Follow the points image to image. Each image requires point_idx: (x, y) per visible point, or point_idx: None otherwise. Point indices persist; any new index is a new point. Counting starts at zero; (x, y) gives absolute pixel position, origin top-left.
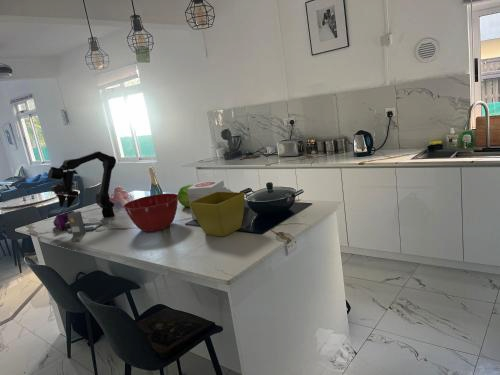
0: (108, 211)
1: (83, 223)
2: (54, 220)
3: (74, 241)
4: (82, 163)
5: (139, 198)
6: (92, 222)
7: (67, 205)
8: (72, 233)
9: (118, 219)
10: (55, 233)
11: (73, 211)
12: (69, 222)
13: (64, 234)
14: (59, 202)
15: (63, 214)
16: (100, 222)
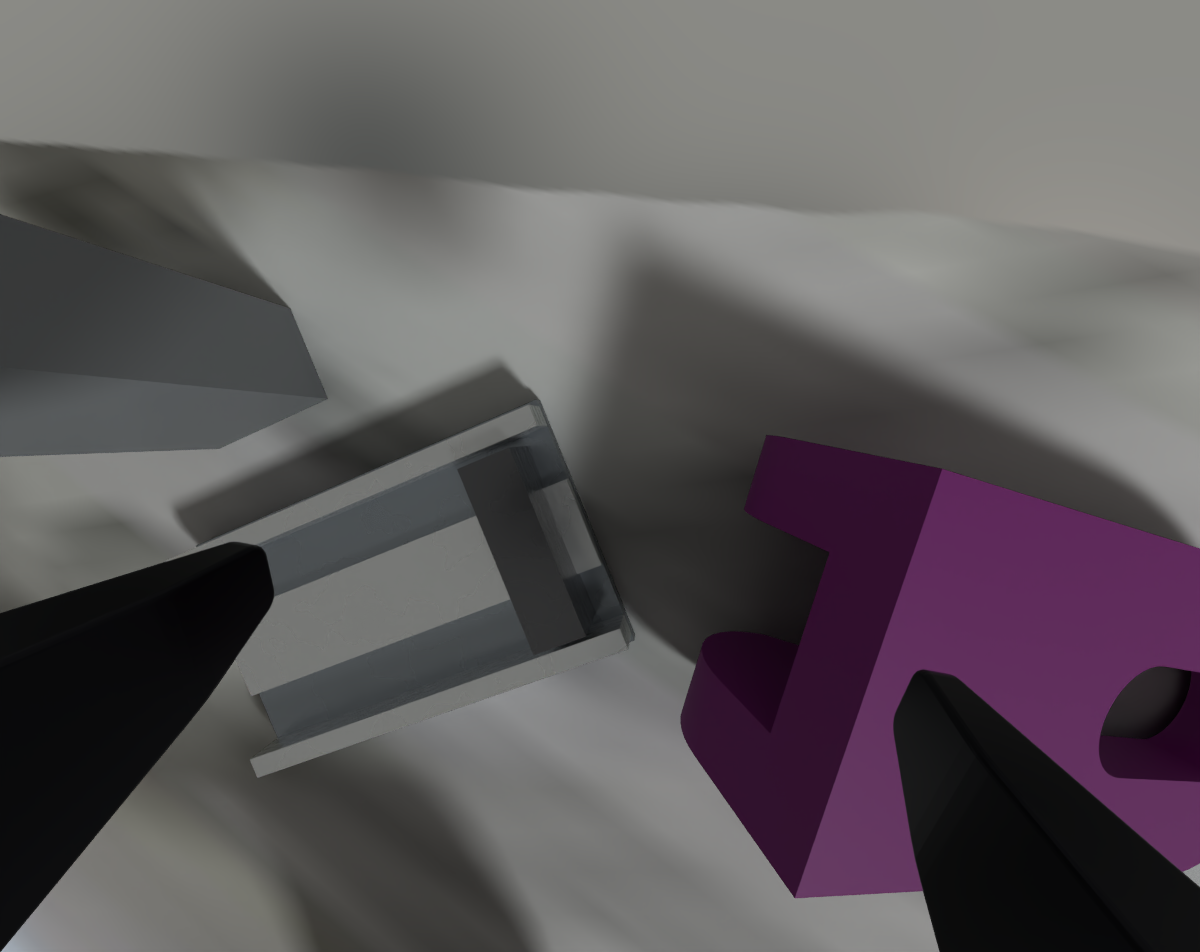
0: None
1: (76, 450)
2: (1185, 544)
3: (75, 180)
4: None
5: None
6: (364, 719)
7: (126, 579)
8: (256, 299)
9: (246, 945)
10: (783, 335)
11: (780, 863)
12: (77, 241)
13: (536, 336)
14: (1123, 864)
15: (860, 623)
16: (263, 751)
